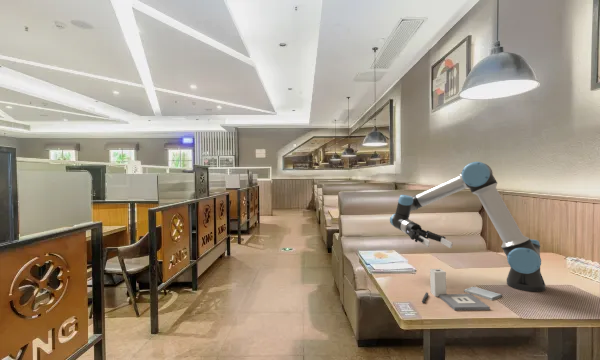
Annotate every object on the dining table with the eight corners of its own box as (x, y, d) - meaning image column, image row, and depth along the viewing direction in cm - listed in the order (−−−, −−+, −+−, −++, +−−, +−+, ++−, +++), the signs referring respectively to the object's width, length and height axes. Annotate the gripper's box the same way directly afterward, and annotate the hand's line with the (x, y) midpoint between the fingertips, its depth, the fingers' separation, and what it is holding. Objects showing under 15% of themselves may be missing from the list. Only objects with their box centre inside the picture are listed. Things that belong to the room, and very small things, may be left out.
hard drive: (501, 294, 134) (473, 285, 144) (492, 297, 130) (463, 289, 140) (501, 297, 134) (473, 289, 144) (492, 301, 130) (464, 292, 140)
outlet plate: (470, 296, 134) (470, 293, 134) (489, 309, 120) (489, 305, 120) (439, 296, 135) (439, 293, 135) (454, 310, 121) (454, 306, 121)
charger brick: (441, 292, 140) (440, 268, 140) (446, 296, 135) (445, 271, 135) (430, 292, 140) (430, 268, 140) (435, 296, 135) (434, 271, 135)
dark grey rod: (425, 294, 137) (425, 292, 137) (428, 295, 137) (428, 292, 137) (421, 303, 128) (421, 300, 128) (424, 303, 128) (424, 300, 128)
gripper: (428, 236, 165) (458, 253, 146) (390, 233, 157) (417, 250, 137) (431, 223, 164) (462, 238, 144) (393, 220, 156) (421, 235, 136)
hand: (440, 244), depth 141 cm, fingers open, 13 cm apart
